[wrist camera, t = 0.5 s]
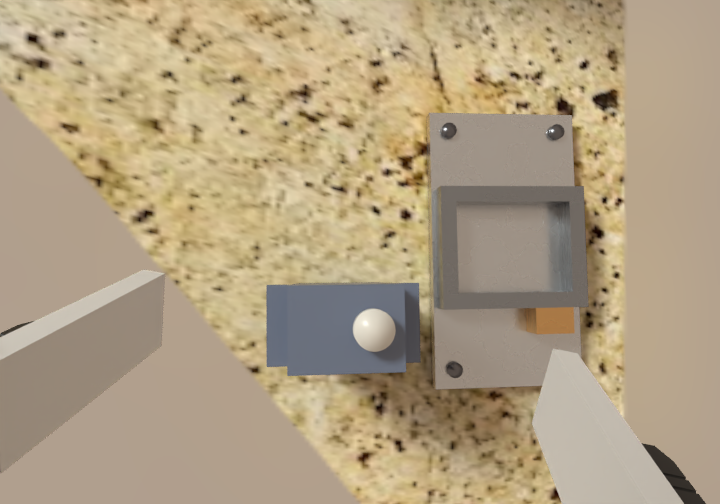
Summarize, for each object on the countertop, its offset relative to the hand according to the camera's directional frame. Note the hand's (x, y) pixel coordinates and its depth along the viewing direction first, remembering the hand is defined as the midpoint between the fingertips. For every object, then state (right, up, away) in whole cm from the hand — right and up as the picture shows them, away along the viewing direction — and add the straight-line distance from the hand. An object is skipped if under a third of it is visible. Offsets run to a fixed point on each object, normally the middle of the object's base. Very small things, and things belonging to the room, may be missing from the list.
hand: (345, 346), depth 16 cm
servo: (-1, -2, +22) cm, 22 cm away
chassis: (+12, +3, +23) cm, 26 cm away
